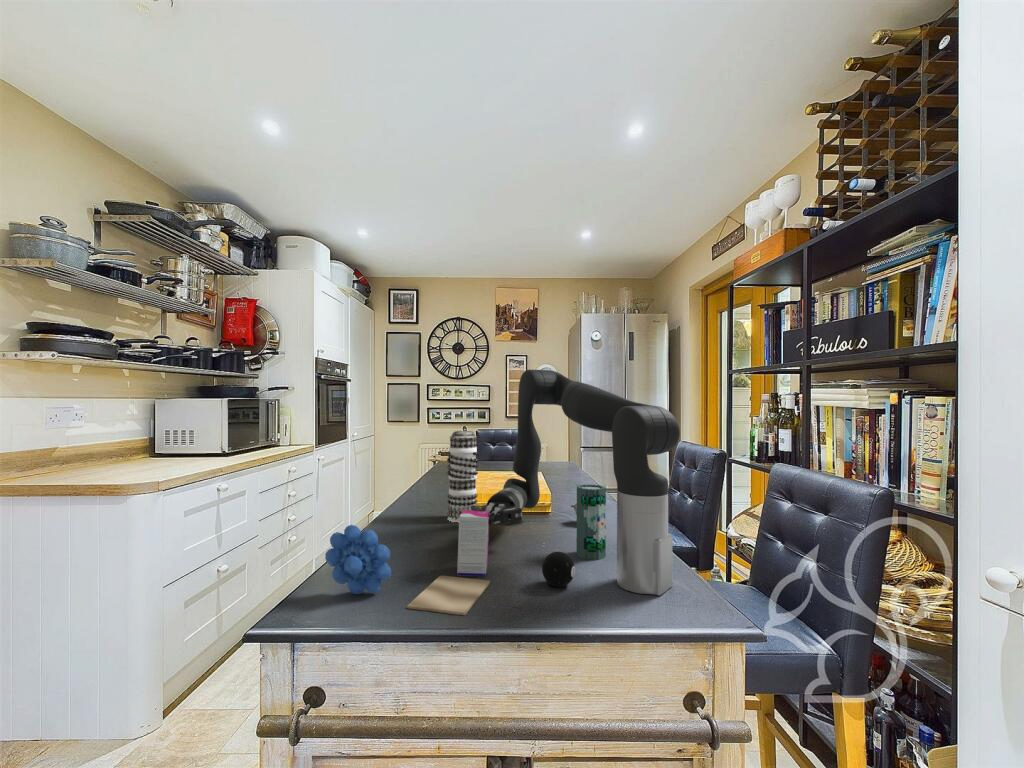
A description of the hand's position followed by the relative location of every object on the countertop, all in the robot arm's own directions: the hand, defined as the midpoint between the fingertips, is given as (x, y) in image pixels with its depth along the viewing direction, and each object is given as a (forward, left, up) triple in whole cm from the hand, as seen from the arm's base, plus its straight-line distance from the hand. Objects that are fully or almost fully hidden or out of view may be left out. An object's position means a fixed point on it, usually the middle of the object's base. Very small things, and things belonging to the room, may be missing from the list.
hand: (484, 521), depth 103 cm
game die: (-2, -40, -8) cm, 41 cm away
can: (-16, -17, -8) cm, 25 cm away
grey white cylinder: (+28, -21, -8) cm, 36 cm away
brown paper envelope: (-8, +17, -8) cm, 21 cm away
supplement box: (-3, +7, -8) cm, 11 cm away
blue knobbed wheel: (+4, +29, -8) cm, 30 cm away
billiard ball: (-20, +2, -8) cm, 22 cm away
